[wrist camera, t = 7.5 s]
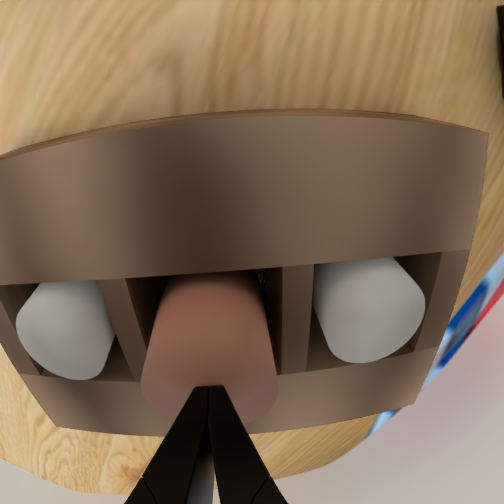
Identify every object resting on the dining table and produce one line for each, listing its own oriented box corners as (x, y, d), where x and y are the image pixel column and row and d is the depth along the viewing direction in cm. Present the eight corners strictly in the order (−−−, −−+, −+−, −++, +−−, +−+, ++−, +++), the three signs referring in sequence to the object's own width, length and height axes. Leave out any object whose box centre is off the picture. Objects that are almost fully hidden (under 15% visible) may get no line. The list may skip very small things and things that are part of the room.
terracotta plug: (258, 243, 13) (279, 339, 8) (261, 323, 15) (277, 424, 10) (157, 251, 13) (123, 347, 8) (174, 329, 14) (159, 430, 9)
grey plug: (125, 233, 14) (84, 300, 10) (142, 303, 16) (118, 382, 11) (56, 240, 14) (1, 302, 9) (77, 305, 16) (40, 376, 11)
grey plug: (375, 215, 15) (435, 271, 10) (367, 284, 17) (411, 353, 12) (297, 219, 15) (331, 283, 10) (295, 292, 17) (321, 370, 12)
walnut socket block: (412, 115, 13) (488, 133, 8) (380, 341, 20) (413, 403, 15) (11, 151, 12) (-61, 182, 7) (80, 362, 19) (56, 426, 14)
